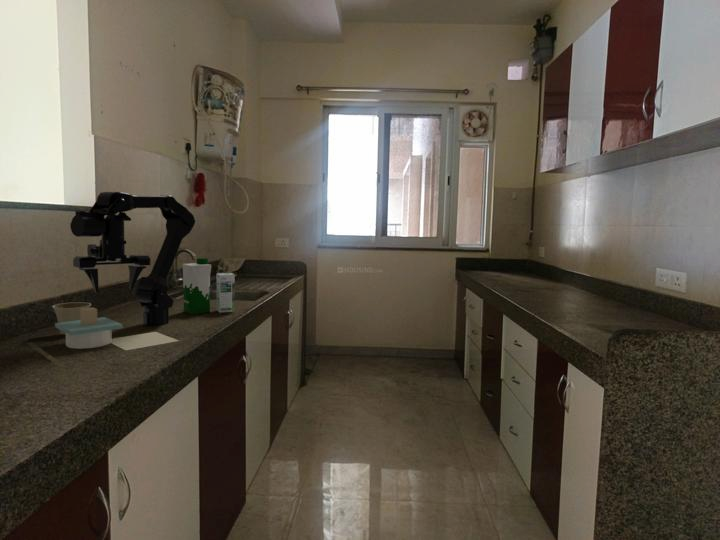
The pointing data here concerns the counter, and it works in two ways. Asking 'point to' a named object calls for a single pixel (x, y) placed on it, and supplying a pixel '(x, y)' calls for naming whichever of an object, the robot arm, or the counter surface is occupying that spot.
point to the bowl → (89, 339)
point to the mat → (141, 340)
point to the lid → (88, 323)
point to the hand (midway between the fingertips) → (114, 291)
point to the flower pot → (69, 311)
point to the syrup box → (225, 292)
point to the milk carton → (196, 286)
